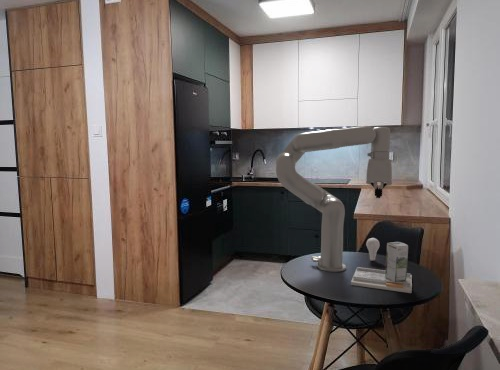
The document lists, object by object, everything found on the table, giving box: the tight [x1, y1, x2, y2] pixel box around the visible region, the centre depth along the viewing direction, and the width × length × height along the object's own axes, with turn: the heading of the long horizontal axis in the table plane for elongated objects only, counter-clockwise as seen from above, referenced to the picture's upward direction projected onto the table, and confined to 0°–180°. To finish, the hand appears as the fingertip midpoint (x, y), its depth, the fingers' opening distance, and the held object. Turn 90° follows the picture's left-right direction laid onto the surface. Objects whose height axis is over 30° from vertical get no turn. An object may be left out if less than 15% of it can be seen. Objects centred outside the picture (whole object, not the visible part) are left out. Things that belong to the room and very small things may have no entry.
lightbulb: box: [365, 237, 381, 262], centre depth 178 cm, size 6×6×11 cm
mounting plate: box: [350, 268, 413, 294], centre depth 151 cm, size 22×18×2 cm
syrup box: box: [385, 241, 409, 281], centre depth 148 cm, size 6×6×14 cm
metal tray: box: [352, 266, 411, 287], centre depth 151 cm, size 21×13×1 cm, turn 67°
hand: (378, 197), depth 164 cm, fingers closed
